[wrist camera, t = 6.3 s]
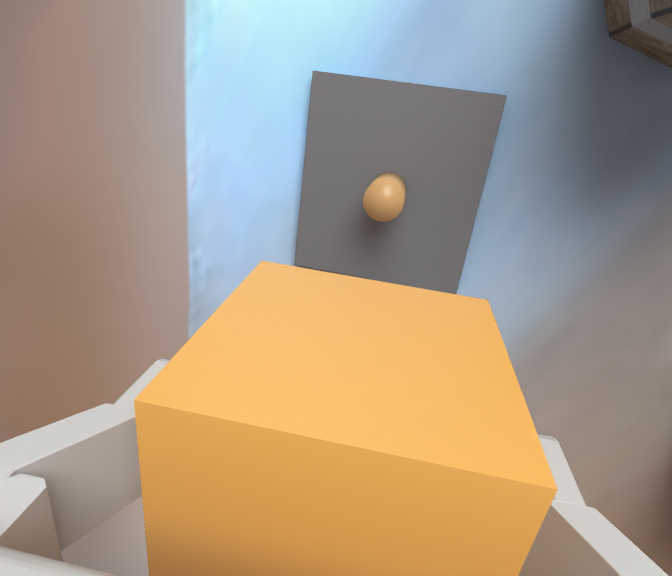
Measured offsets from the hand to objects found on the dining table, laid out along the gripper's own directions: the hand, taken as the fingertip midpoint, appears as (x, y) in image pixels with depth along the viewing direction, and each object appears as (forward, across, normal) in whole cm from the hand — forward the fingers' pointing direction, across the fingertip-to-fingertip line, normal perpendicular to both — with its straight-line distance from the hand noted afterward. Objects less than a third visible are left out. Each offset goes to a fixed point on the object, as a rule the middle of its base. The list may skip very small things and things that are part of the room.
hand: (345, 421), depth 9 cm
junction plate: (+19, 0, -1) cm, 19 cm away
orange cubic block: (+2, 0, 0) cm, 2 cm away
